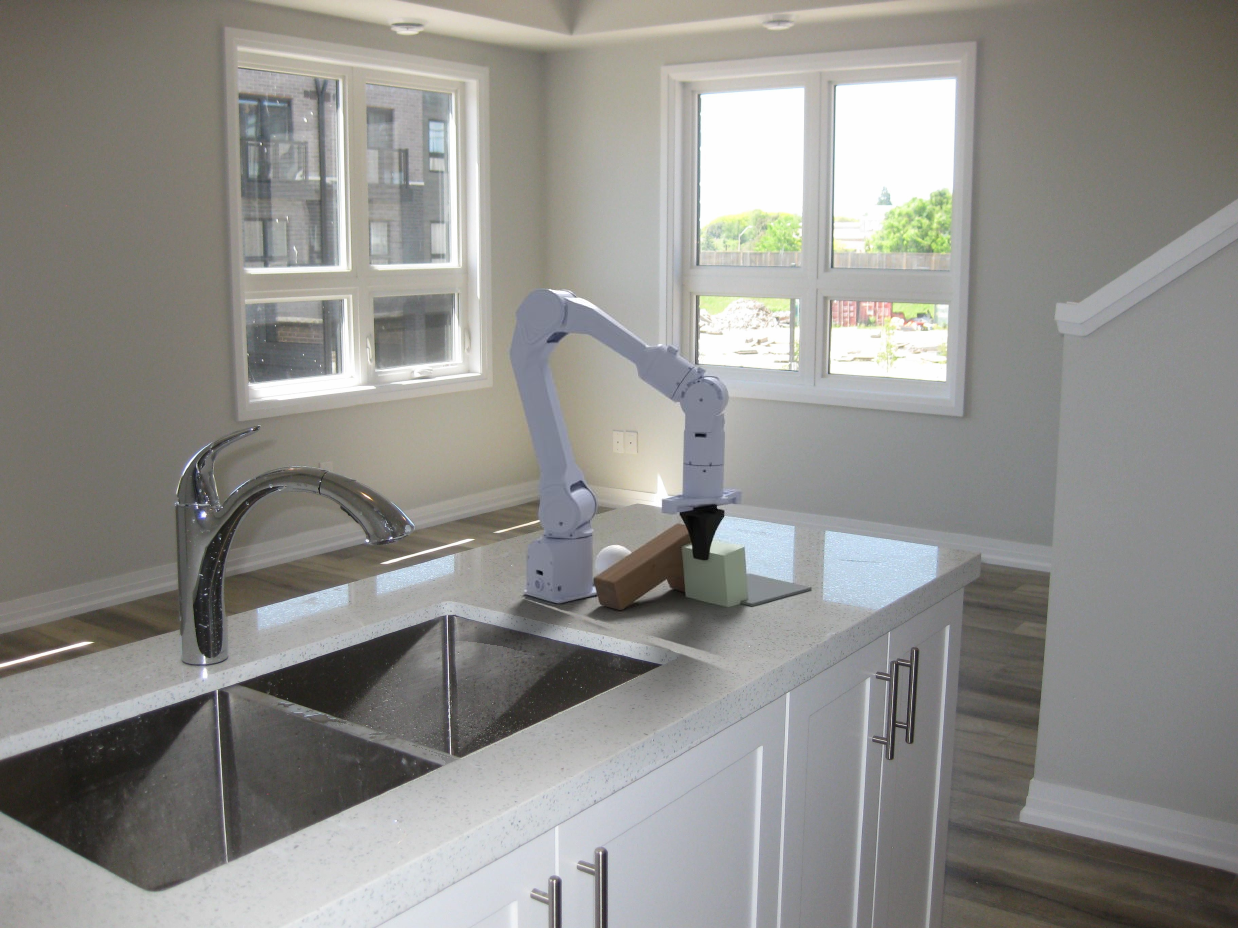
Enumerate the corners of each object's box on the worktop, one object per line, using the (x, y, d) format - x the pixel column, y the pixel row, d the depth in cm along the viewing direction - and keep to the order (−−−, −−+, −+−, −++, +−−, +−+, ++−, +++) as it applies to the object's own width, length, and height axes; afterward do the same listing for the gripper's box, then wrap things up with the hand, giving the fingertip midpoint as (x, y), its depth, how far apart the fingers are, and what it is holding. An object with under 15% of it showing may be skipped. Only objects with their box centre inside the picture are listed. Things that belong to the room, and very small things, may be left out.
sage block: (728, 609, 161) (723, 555, 159) (686, 598, 167) (681, 546, 165) (748, 599, 164) (744, 546, 162) (706, 589, 170) (702, 537, 168)
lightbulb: (660, 539, 180) (605, 536, 173) (671, 574, 177) (616, 573, 170) (637, 558, 184) (582, 556, 177) (648, 592, 181) (593, 591, 174)
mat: (751, 606, 162) (751, 603, 162) (688, 590, 170) (688, 588, 170) (811, 589, 171) (811, 587, 171) (749, 575, 180) (749, 573, 180)
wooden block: (711, 580, 171) (628, 640, 160) (689, 575, 174) (606, 633, 163) (699, 526, 168) (613, 583, 157) (677, 522, 171) (591, 577, 160)
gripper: (689, 471, 153) (687, 571, 154) (759, 462, 163) (756, 556, 164) (651, 465, 158) (649, 562, 160) (721, 457, 168) (718, 548, 169)
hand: (701, 559), depth 162 cm, fingers closed, pressing on sage block
